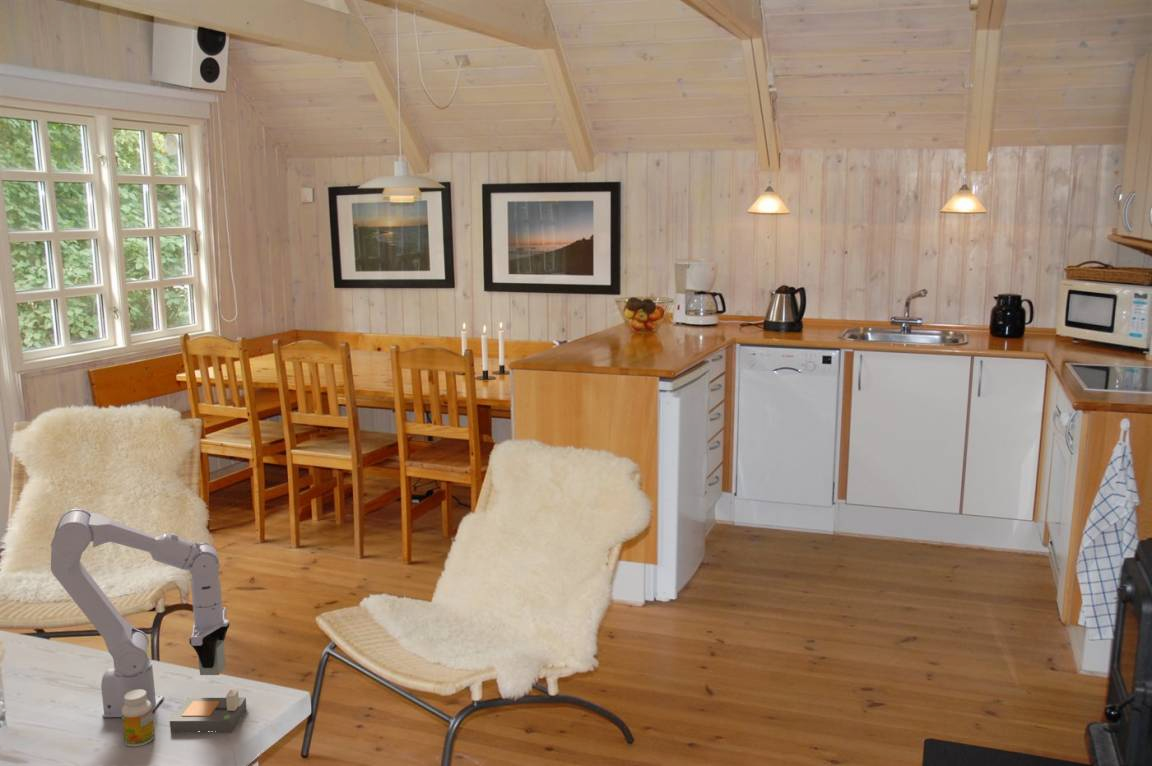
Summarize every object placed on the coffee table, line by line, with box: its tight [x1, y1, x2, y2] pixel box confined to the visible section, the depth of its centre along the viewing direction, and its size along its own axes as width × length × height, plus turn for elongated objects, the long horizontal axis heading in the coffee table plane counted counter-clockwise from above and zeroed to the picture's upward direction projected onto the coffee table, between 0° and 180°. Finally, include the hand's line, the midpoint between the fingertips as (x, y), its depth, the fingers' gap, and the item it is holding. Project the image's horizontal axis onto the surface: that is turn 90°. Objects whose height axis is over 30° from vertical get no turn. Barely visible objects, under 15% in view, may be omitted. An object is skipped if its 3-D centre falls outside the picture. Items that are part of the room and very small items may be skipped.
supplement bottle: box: [121, 689, 156, 748], centre depth 186 cm, size 5×5×10 cm
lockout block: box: [198, 639, 227, 676], centre depth 203 cm, size 4×4×6 cm
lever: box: [225, 689, 240, 711], centre depth 193 cm, size 2×2×3 cm
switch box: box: [169, 697, 247, 733], centre depth 194 cm, size 12×9×3 cm
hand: (212, 662), depth 204 cm, fingers closed on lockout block, 4 cm apart
